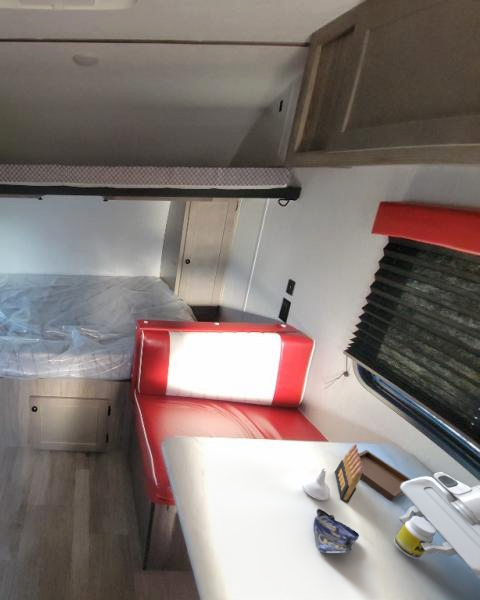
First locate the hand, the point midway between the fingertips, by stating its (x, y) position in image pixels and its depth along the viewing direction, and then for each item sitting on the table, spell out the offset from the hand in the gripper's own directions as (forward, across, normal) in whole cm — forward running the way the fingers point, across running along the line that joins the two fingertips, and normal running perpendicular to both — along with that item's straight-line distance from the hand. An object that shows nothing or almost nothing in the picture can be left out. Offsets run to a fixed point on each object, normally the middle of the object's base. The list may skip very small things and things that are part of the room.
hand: (412, 535), depth 76 cm
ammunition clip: (+7, +16, -1) cm, 18 cm away
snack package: (+15, 0, +8) cm, 17 cm away
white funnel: (+13, +13, +6) cm, 19 cm away
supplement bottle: (+3, 0, -4) cm, 5 cm away
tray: (-3, +22, -11) cm, 25 cm away
